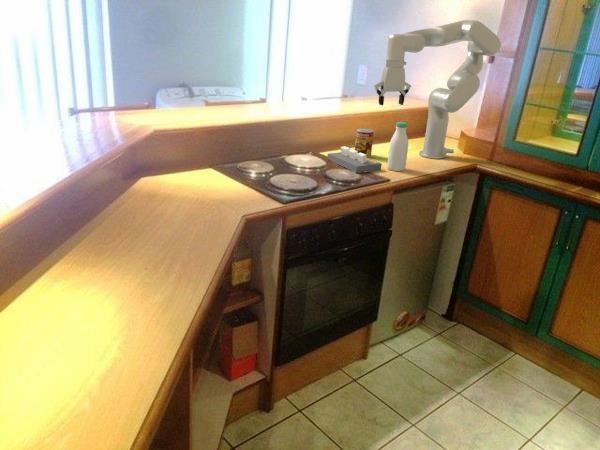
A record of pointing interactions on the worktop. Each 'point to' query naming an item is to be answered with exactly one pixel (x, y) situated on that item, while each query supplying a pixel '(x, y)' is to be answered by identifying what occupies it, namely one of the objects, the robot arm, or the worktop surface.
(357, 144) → the canned food
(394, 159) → the milk bottle
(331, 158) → the switch panel
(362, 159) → the paddle
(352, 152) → the paddle mid
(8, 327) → the worktop surface
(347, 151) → the paddle
